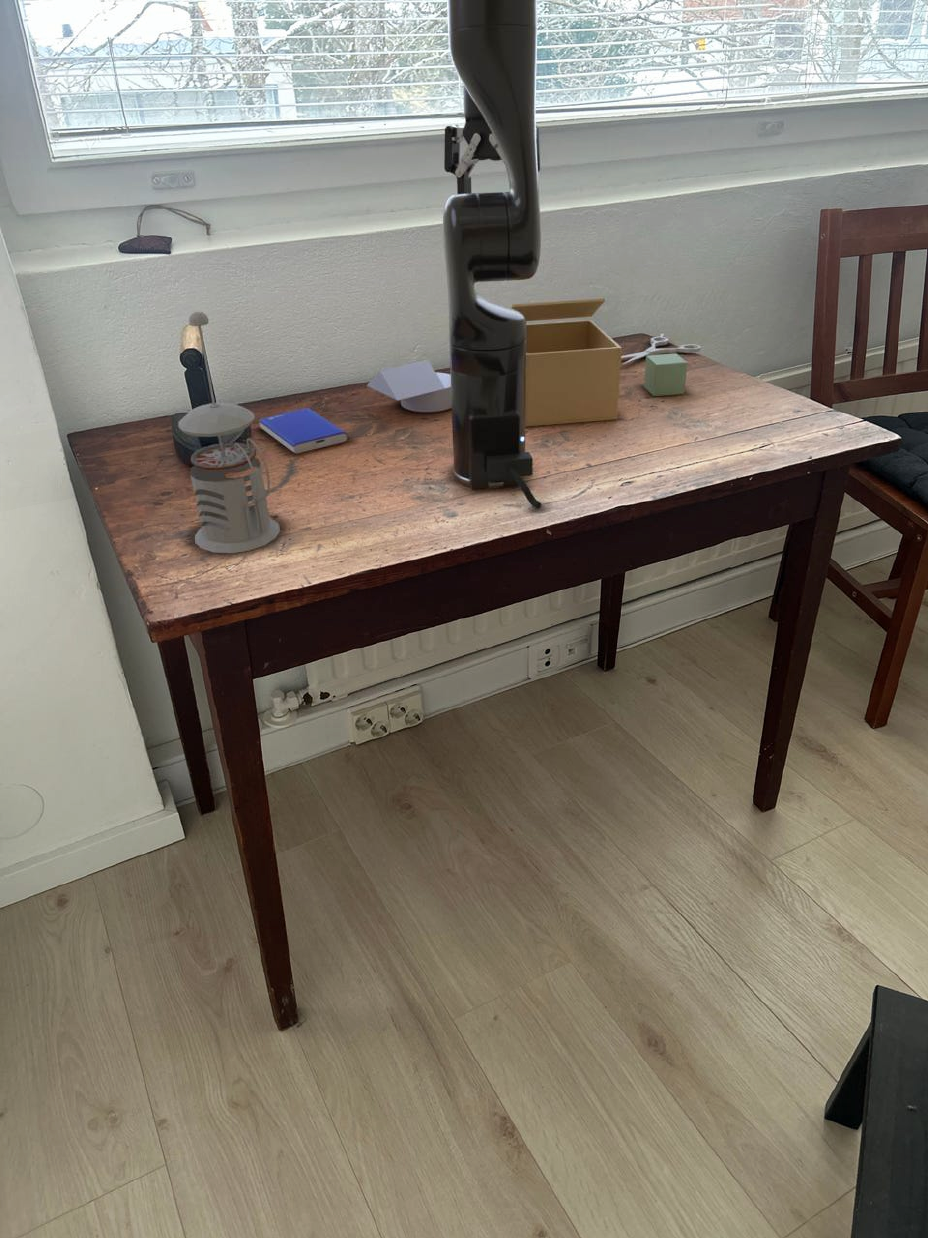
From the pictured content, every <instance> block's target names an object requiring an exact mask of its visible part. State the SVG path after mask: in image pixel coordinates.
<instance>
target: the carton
mask: <svg viewBox="0 0 928 1238" xmlns="http://www.w3.org/2000/svg"><path fill="white" fill-rule="evenodd" d="M526 326H527V334H526V423H525V428H526V427H538V426H539V427H540V426H550V425H563V424H574V423H586V422H587V423H588V422H600V421H613V420H617V419H618V413H619V397H620V381H621V366H622V358H621V356H622V353H623V347H621V345H620V344H618V343H617V341H615V340H614V339H613V338H612V337H611V336H610V335H608V334H607V333H606V332H605V330H603V329H602V328H601V327H600V326H598V324H597V323H596V322H594V321H593V320H592V319H584V320H569V321H568V320H566V321H554V322H539V323H526Z"/></svg>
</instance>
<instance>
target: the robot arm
mask: <svg viewBox="0 0 928 1238" xmlns="http://www.w3.org/2000/svg"><path fill="white" fill-rule="evenodd" d="M446 5H447V7H446V8H447V32H448V33H447V34H448V51H449V55H450V58H451V62H452V64H453V66H454V69H455V71H456V73H457V75H458V77H459V79H460V81H461V82H462V84H463V85H462V86H463V115H464V119H465V121H464V126H459V125H458V124H453V125H447V126H445V128H444V152H443V153H444V161H443V162H444V165H443V166H444V167H443V168H444V171H445V172H446V173H450V174H453V175H454V176H455V178H456V180H457V181H456V184H457V185H456V188H457V191H456V192H457V194H453V195H450V197H449V198H448V199H447V201H446V203H445V205H444V208H443V214H442V216H443V217H442V238H443V239H442V241H443V251H444V262H445V273H446V284H447V296H448V297H447V300H448V333H449V334H448V342H449V368H450V369H449V373H450V375H451V403H452V408H451V427H452V451H453V452H452V453H453V455H452V456H453V467H452V473H453V477H454V479H455V480H456V481H457V482H458V483H460V484H463V485H465V486H467V487H469V488H470V489H471V491H476V490H477V491H478V490H487V489H488V490H489V489H500V488H509V487H511V488H512V487H519V489H520V490H521V491H522V493H523V495H524V497H525V498H526V499H527V502H528V503H529V504H530V505H531V506H532V507H533V508H535V509H538V510H539V509H540V508H541V507H542V503H541V502H540V501H538V500H537V499H536V498H535V496H534V495H533V493H532V491H531V490H530V488H529V486H528V484H526V482H525V480H524V479H525V477H528V476H529V477H531V476H533V472H534V471H533V467H534V464H533V462H534V458H533V456H532V455H531V453H530V451H526V427H525V423H526V334H527V326H526V324H527V321H526V320H525V317H524V316H523V315H522V314H521V313H520V312H518V311H516V310H514V309H511V307H508V306H505V305H501V304H499V303H496V302H493V301H491V300H489V299H488V298H486V297H484V296H483V295H482V294H480V293H479V292H478V291H477V290H476V289H475V284H476V283H487V282H505V281H506V282H509V281H511V282H512V281H525V280H530V279H532V278H533V277H534V276H535V275H536V273H537V271H538V267H539V265H540V259H541V250H542V249H541V247H542V230H541V207H540V187H539V172H540V171H541V154H540V152H541V151H540V128H539V126H538V125H537V119H536V117H537V115H536V114H537V109H536V107H537V104H536V103H537V66H538V65H537V63H538V61H537V59H538V56H537V55H538V0H446ZM463 138H464V141H465V142H466V144H467V147H466V149H465V150H464V152H463V154H462V156H461V143H462V141H463ZM460 156H461V157H460ZM460 160H461V161H460ZM487 160H490V161H493V162H497V161H502V163H503V164H504V165H505V170H506V173H507V178H508V185H509V191H504V192H503V191H495V192H493V191H492V192H473V193H472V176H470V174H471V172H472V171H473V169H474V168H475V166H476V165H477V164H478V163H479V161H487Z"/></svg>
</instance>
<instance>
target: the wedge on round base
mask: <svg viewBox="0 0 928 1238" xmlns="http://www.w3.org/2000/svg"><path fill="white" fill-rule="evenodd" d="M366 387H368V388H370V389H373V390H374V391H377V392H379V393H381V394H382V395H385V396H386V397H389V398H391V399H393V400H396V401H400V405H401V407H402V408H404V409H406V410H408V411H411V412H416V413H417V412H418V413H435V412H436V413H437V412H442V411H446V410H450V409H452V403H451V374H449V373H444V372H436V371H435V369H434V368H433V366H432V365H431V363H430V361H429V360H428V359H424V360H420V361H416V362H412V363H407V364H402V365H399V366H394V367H390V368H385V369H381V370H379V371H378V372H377V373H376V374H375V376H373V378H372V379H371V380H370V381H369V382H368V384H366Z"/></svg>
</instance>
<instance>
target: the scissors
mask: <svg viewBox="0 0 928 1238" xmlns="http://www.w3.org/2000/svg"><path fill="white" fill-rule="evenodd" d="M665 336H666V334H665V333H660V336H653V337H651V338H650V344H651V345H650V347H648V348H646V349H645V350H644V351H640V352H635V353H629V354H625V355H621V359H623V358H630V359H629V360H627V361H625V362H623V363H622V365H626V364H628V363H630V362H633V361H636V360H639V359H641V358H643V357H646V356H648V355H662V354H675V353H685V354H690V353H691V354H692V353H693V354H694V353H699V352H701V345H699V344H692V343H691V344H688V343H687V344H682V345H680V347H679V346H678V347H674V348H656V347H659V346H666V345H668V343H669V338H668V337H665ZM631 357H632V358H631Z"/></svg>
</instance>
